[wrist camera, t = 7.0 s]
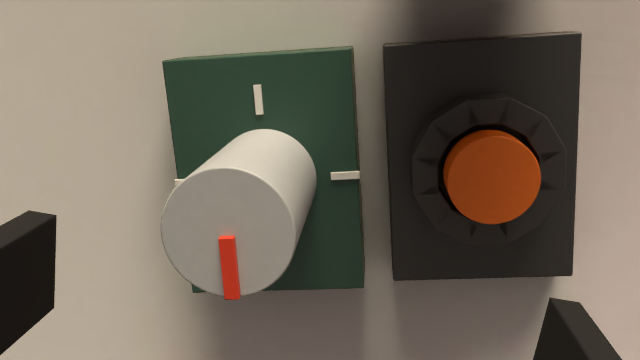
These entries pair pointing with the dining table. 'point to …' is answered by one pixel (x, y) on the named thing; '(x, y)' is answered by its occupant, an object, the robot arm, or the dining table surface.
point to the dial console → (294, 120)
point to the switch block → (470, 116)
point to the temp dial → (240, 214)
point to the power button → (491, 176)
